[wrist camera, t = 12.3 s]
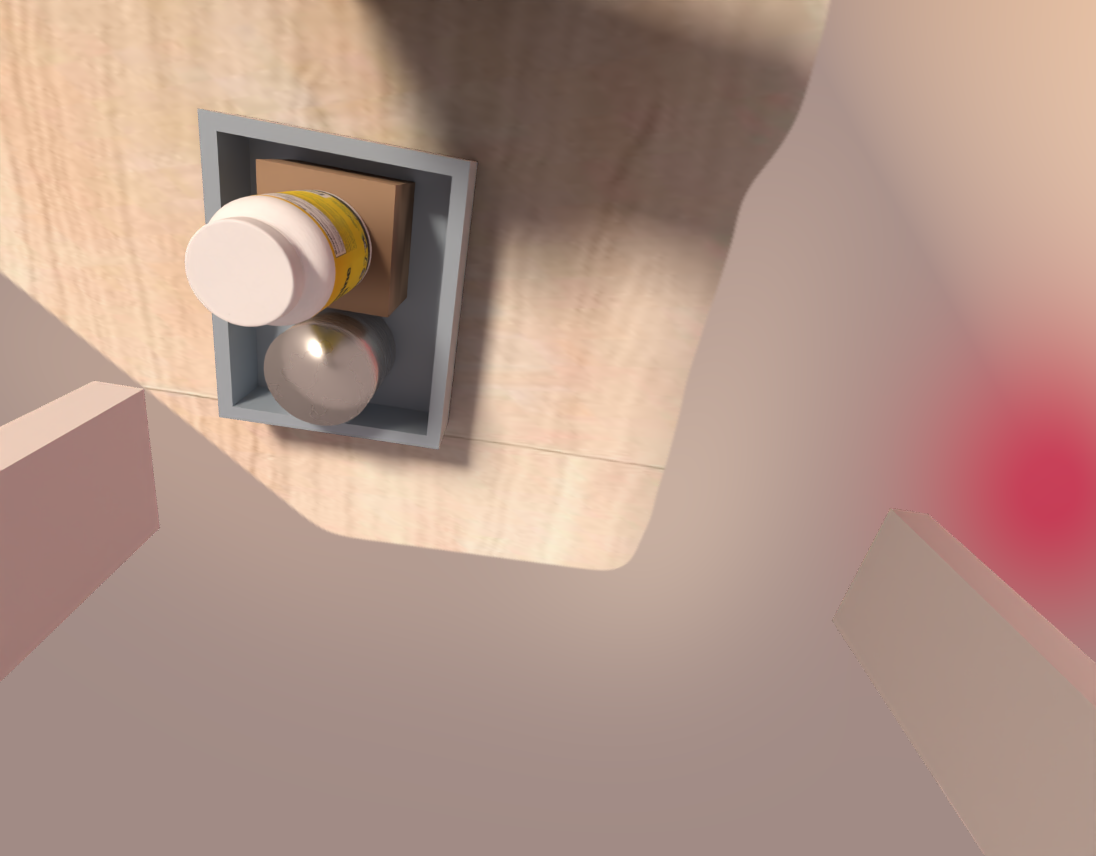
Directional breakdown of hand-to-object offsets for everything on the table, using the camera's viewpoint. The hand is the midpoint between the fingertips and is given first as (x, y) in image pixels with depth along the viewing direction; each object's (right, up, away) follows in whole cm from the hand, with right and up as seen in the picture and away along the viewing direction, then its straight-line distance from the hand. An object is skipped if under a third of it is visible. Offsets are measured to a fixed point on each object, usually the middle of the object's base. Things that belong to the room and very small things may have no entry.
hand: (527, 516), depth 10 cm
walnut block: (-13, +16, +30) cm, 36 cm away
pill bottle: (-13, +13, +25) cm, 31 cm away
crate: (-14, +12, +32) cm, 37 cm away
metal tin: (-15, +8, +34) cm, 38 cm away
